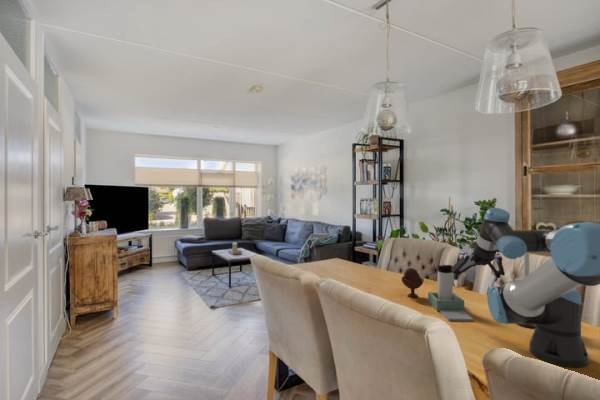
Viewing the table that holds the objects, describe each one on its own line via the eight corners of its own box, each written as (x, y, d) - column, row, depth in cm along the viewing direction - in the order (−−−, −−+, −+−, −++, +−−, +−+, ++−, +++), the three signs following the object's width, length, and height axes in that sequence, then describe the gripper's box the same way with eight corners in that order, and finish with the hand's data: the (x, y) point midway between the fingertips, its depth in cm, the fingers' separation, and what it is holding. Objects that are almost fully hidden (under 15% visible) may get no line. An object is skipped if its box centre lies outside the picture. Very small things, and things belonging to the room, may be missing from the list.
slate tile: (473, 321, 135) (473, 318, 135) (448, 320, 136) (448, 318, 136) (462, 312, 145) (462, 310, 145) (440, 312, 146) (440, 309, 146)
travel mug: (444, 310, 148) (444, 266, 148) (435, 305, 155) (434, 263, 154) (456, 308, 150) (455, 265, 149) (446, 303, 156) (445, 262, 156)
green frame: (464, 311, 146) (464, 300, 146) (436, 311, 147) (436, 300, 147) (453, 302, 158) (453, 292, 158) (428, 302, 159) (428, 292, 158)
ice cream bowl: (425, 300, 162) (425, 270, 161) (402, 299, 164) (402, 269, 164) (422, 293, 172) (422, 265, 172) (400, 292, 174) (400, 265, 174)
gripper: (515, 240, 127) (499, 280, 137) (450, 238, 128) (439, 277, 139) (525, 252, 120) (508, 293, 131) (456, 250, 122) (444, 290, 133)
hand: (472, 285), depth 135 cm, fingers open, 13 cm apart
